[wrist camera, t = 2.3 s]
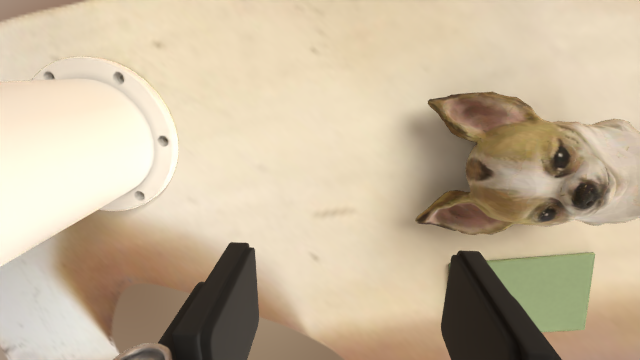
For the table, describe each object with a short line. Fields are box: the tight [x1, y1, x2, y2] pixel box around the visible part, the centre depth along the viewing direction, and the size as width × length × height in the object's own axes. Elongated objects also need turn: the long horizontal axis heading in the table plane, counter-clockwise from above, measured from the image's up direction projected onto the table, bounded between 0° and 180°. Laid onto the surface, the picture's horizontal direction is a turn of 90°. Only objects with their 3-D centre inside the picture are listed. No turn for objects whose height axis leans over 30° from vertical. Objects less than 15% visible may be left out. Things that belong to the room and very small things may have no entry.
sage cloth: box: [449, 252, 595, 332], centre depth 30 cm, size 12×8×1 cm, turn 98°
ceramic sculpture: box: [415, 92, 640, 235], centre depth 23 cm, size 11×9×15 cm
